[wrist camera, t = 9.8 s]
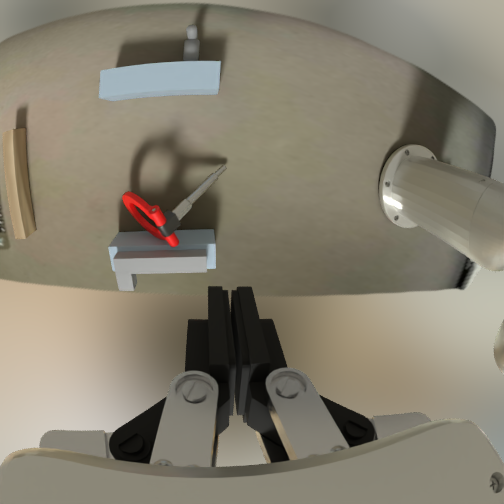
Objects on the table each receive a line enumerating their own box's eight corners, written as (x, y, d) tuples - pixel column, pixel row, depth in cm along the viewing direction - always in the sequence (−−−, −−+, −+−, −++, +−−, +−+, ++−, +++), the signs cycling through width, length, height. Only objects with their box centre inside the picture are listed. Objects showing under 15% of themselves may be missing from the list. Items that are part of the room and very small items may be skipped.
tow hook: (111, 190, 26) (149, 210, 23) (176, 134, 30) (221, 143, 27) (138, 229, 32) (177, 253, 28) (192, 175, 36) (235, 190, 32)
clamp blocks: (220, 39, 24) (224, 20, 18) (214, 262, 35) (216, 288, 30) (116, 46, 22) (99, 31, 16) (123, 264, 33) (111, 290, 28)
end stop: (25, 127, 23) (13, 129, 20) (36, 229, 29) (25, 238, 26) (15, 130, 23) (2, 132, 20) (26, 230, 28) (15, 239, 26)
